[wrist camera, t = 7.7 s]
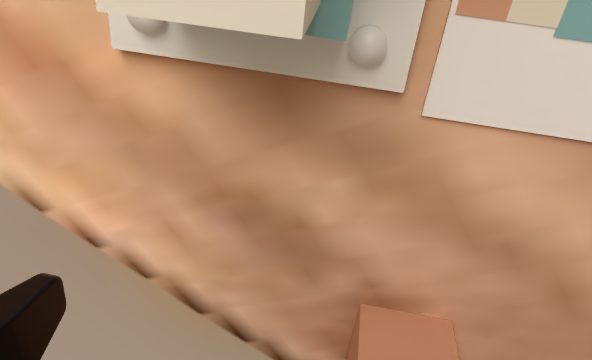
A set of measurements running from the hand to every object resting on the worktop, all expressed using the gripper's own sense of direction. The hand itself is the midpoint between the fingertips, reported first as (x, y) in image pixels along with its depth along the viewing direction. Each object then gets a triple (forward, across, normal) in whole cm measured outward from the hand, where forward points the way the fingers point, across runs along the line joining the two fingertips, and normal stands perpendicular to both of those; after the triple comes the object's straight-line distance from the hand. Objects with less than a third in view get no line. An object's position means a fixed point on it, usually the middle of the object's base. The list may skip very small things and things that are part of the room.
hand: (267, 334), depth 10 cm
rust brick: (+12, -6, +13) cm, 19 cm away
